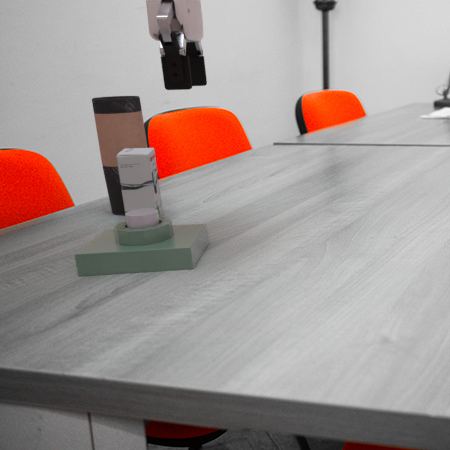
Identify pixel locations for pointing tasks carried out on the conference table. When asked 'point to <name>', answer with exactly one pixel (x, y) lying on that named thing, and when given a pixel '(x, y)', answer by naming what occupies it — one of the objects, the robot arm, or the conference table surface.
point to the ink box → (139, 179)
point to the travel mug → (117, 138)
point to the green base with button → (143, 249)
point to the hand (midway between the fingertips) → (187, 87)
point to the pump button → (142, 218)
